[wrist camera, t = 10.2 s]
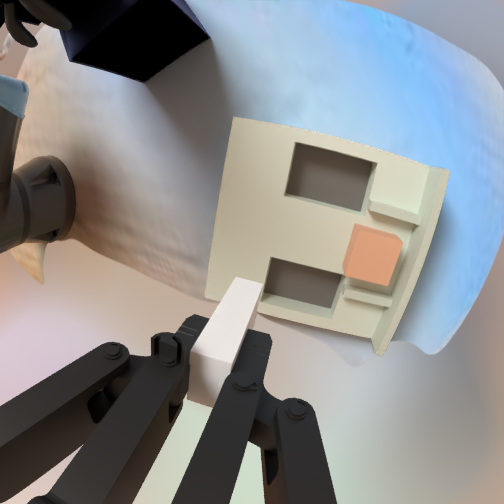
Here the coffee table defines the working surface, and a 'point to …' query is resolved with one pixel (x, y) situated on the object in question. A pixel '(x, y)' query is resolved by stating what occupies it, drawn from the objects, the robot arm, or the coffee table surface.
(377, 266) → the block
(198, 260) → the coffee table surface
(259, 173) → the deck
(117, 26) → the vase
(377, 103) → the coffee table surface
